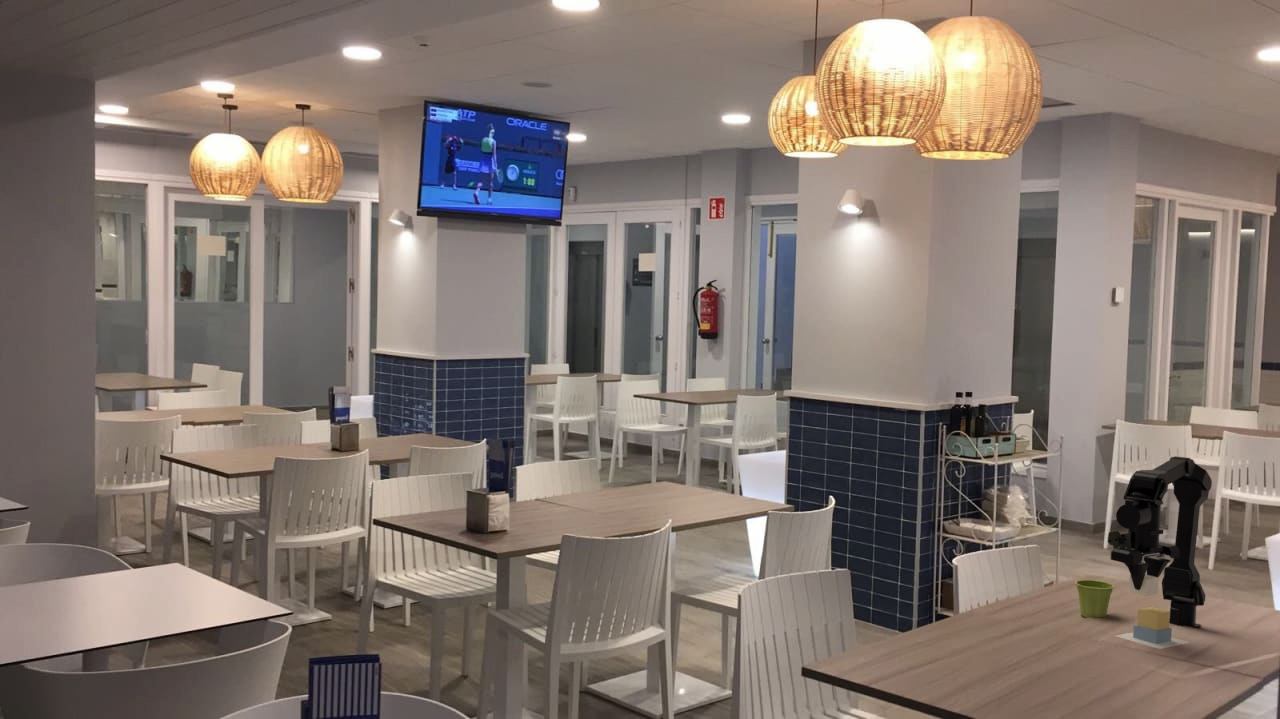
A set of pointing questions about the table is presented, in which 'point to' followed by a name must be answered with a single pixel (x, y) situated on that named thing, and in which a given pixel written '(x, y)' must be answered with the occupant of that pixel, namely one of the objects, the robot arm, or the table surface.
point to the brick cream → (1146, 586)
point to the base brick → (1152, 634)
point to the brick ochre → (1153, 618)
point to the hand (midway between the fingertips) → (1143, 588)
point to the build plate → (1160, 645)
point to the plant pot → (1094, 597)
